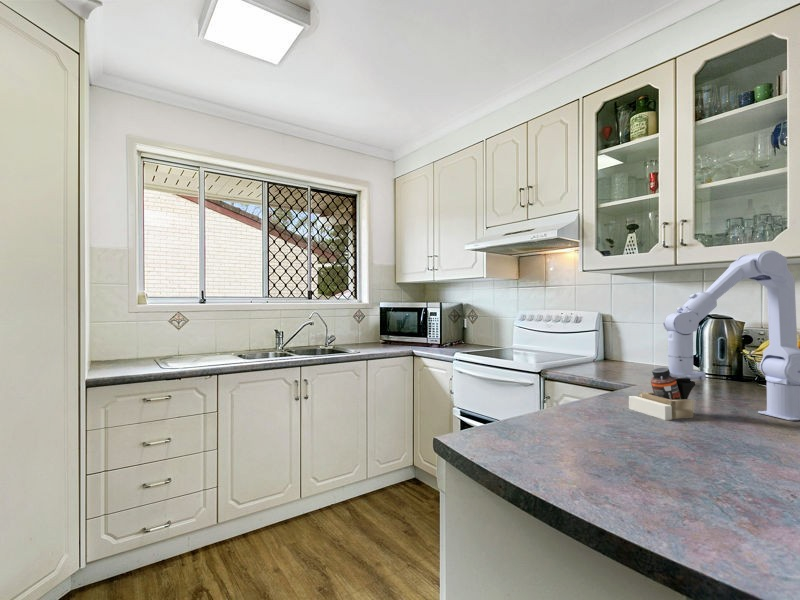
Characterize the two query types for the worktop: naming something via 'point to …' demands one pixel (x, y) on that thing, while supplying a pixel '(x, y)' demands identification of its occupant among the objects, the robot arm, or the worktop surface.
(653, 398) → the cradle
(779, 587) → the worktop surface
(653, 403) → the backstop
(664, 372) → the supplement bottle
